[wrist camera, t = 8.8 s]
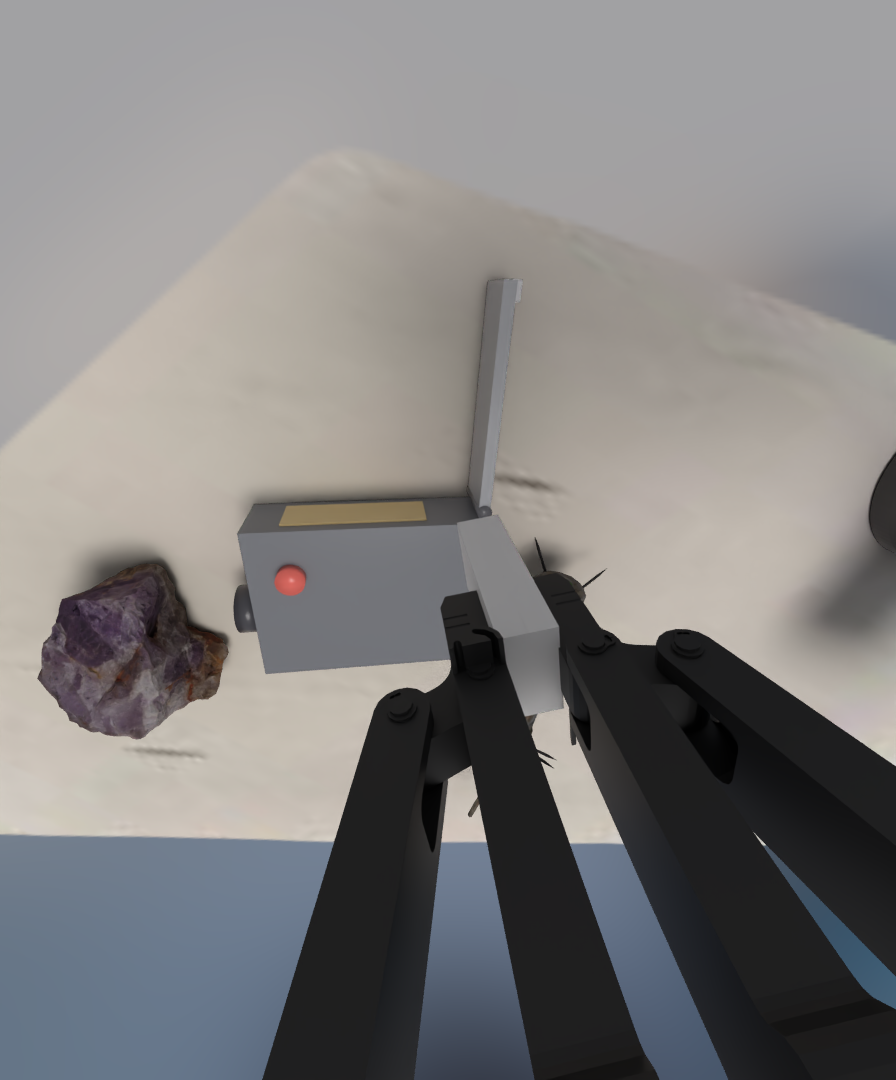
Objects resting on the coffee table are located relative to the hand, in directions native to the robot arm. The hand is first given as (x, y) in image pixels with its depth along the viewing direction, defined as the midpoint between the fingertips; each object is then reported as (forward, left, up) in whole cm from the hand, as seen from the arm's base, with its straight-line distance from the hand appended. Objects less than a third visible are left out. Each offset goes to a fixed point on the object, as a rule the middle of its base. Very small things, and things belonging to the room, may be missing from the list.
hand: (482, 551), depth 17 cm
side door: (-4, -2, -19) cm, 20 cm away
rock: (+23, +16, -20) cm, 34 cm away
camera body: (+5, +12, -20) cm, 23 cm away
